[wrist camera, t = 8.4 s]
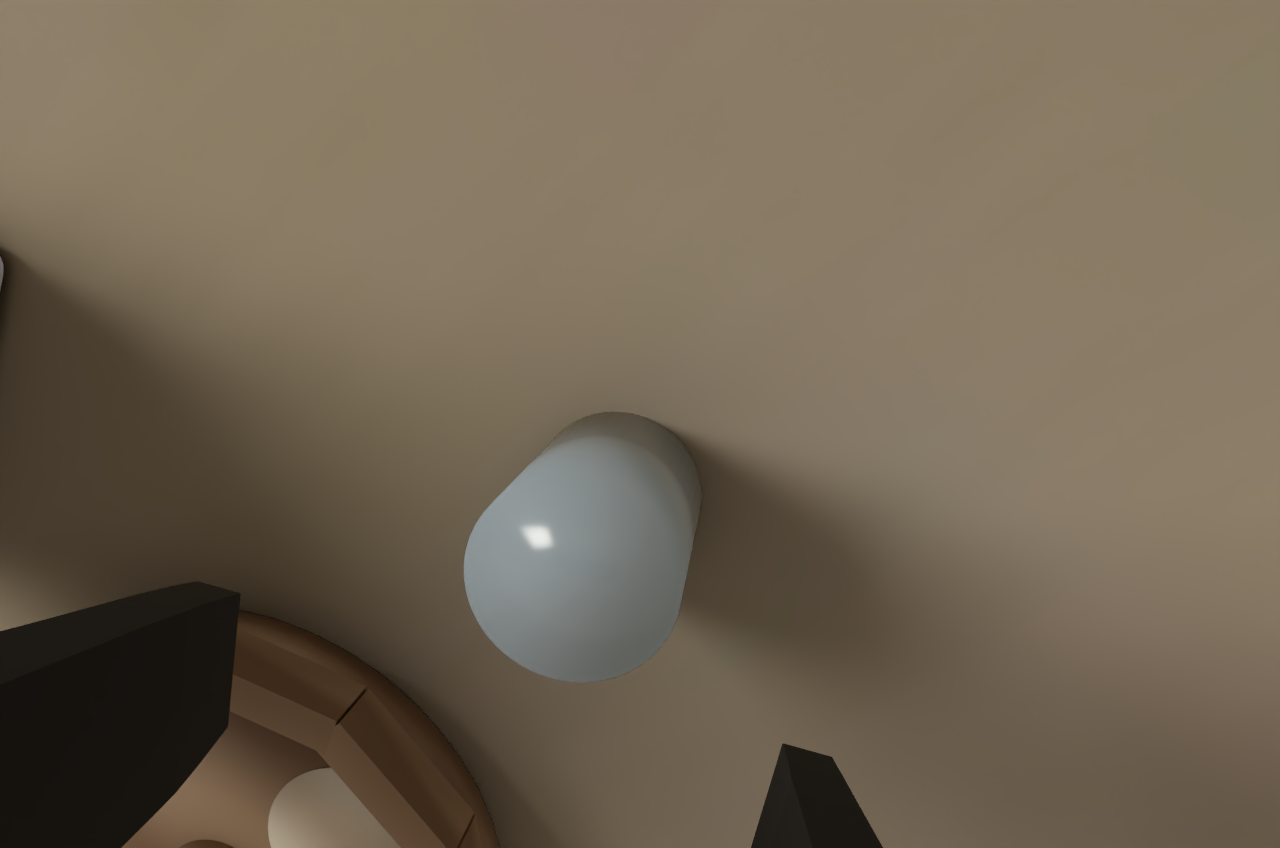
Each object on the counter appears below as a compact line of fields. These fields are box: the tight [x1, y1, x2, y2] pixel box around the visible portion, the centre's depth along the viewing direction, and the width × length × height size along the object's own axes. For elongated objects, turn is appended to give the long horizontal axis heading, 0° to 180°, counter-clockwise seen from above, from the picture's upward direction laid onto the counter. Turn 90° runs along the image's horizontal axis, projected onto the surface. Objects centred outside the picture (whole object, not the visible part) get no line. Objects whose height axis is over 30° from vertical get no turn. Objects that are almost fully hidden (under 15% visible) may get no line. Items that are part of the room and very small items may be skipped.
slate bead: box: [464, 412, 702, 682], centre depth 17 cm, size 4×4×5 cm
